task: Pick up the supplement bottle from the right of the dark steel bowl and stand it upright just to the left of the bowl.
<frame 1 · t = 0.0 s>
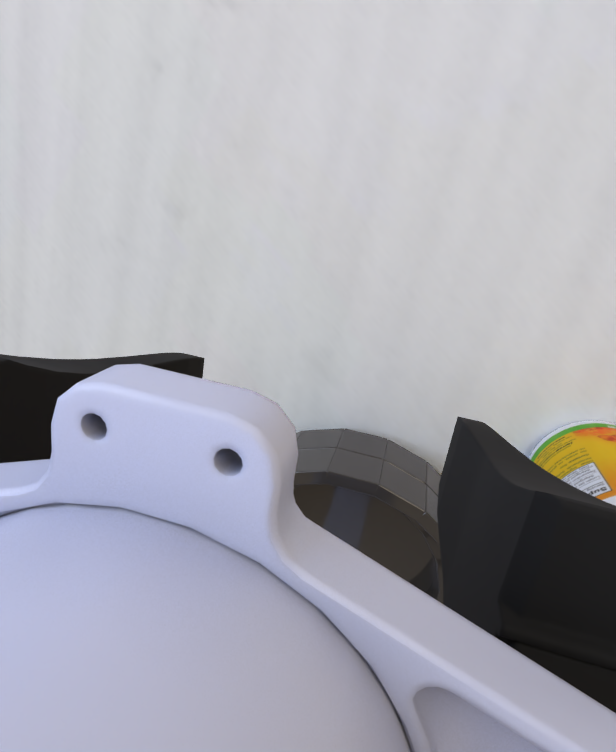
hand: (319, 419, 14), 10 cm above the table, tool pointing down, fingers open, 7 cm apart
bowl: (343, 539, 27), on the table
supplement bottle: (586, 470, 23), on the table
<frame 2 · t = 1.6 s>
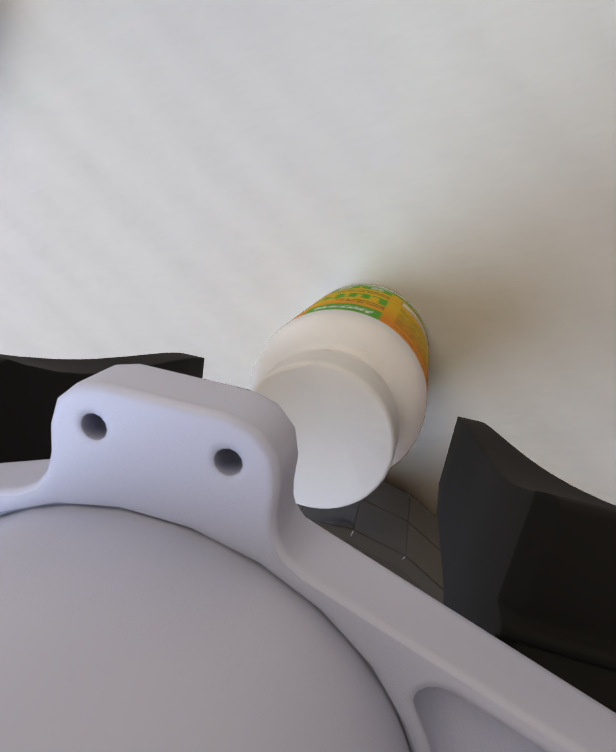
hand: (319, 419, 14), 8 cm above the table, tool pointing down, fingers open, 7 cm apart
bowl: (333, 579, 25), on the table
supplement bottle: (364, 345, 22), on the table
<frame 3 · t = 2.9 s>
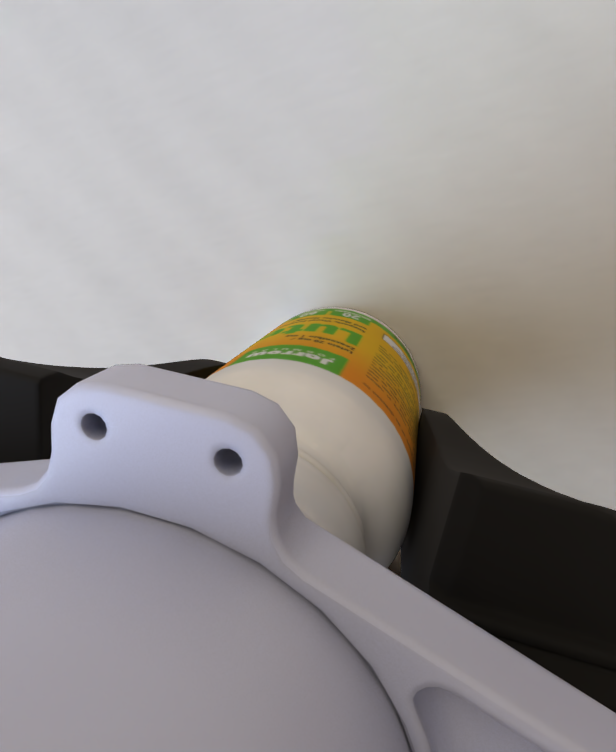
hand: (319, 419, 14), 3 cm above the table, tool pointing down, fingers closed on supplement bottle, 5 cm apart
supplement bottle: (338, 384, 17), on the table, touching gripper
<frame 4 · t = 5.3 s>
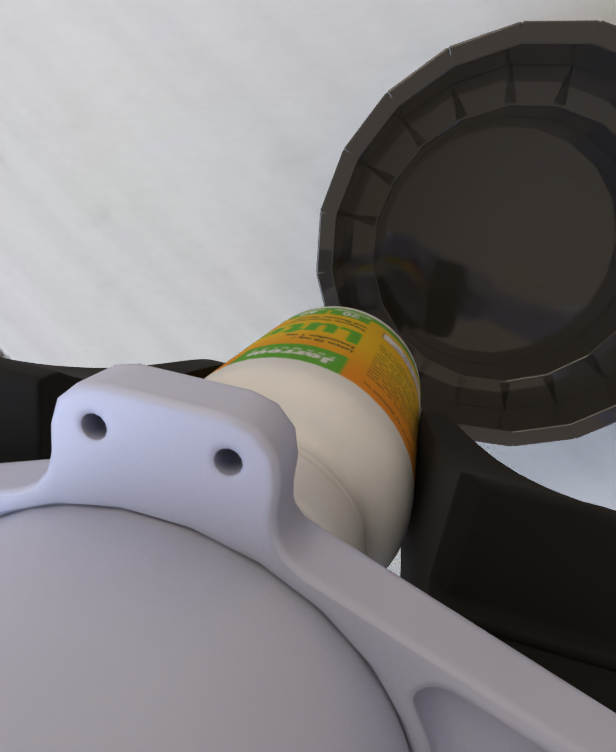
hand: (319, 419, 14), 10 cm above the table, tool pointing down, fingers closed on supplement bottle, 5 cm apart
bowl: (497, 248, 21), on the table
supplement bottle: (338, 383, 17), point 7 cm above the table, touching gripper
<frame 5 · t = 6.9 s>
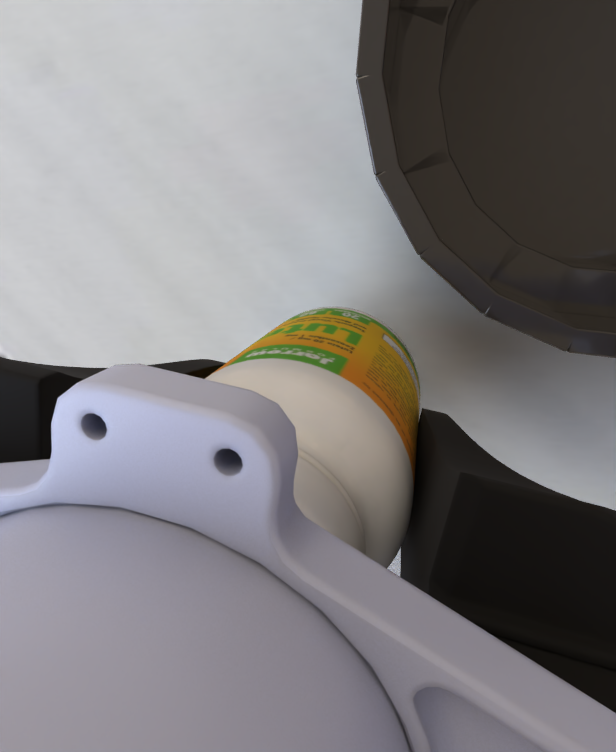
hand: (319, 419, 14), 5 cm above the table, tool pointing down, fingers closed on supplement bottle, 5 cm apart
supplement bottle: (337, 384, 17), point 2 cm above the table, touching gripper
when the fingers open (3 cm above the table, at t = 8.1 s): supplement bottle stays where it is, on the table.
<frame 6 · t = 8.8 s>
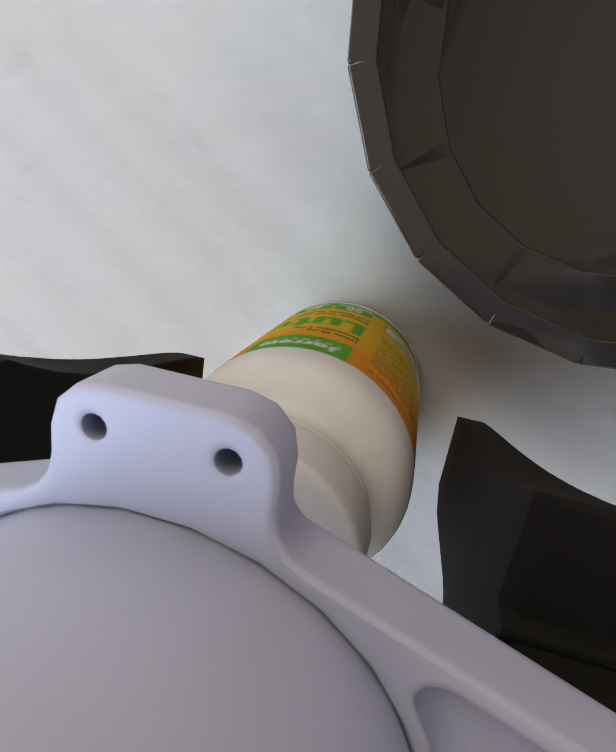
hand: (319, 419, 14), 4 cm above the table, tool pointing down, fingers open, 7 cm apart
supplement bottle: (341, 375, 18), on the table
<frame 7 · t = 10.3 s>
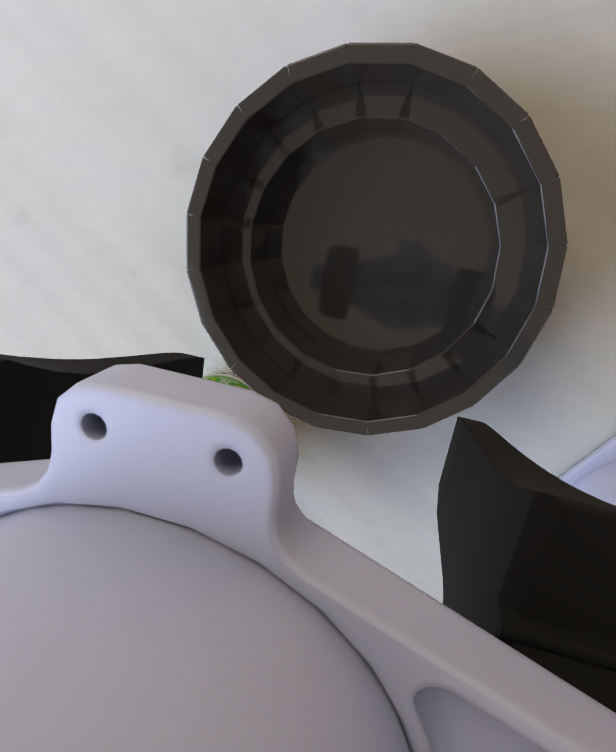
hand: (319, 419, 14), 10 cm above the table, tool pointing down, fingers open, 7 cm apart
bowl: (375, 251, 22), on the table
supplement bottle: (228, 418, 27), on the table
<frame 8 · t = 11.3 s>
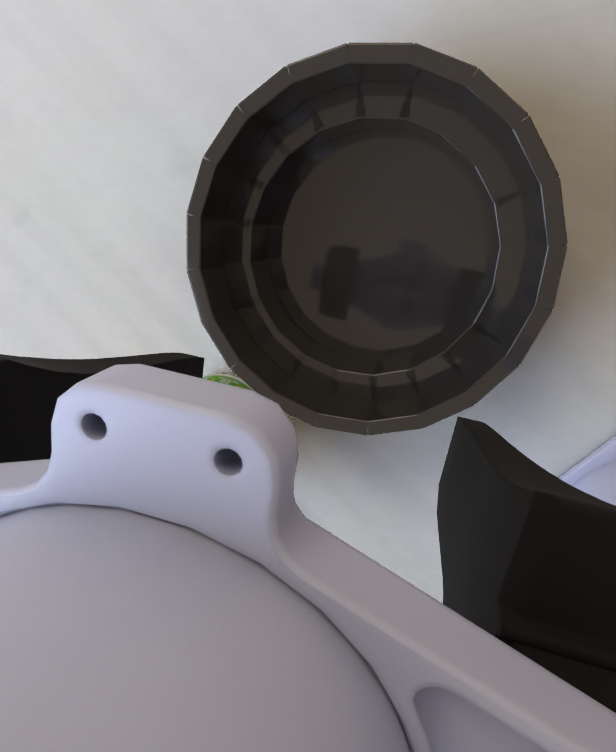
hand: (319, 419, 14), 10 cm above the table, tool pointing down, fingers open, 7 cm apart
bowl: (375, 251, 22), on the table
supplement bottle: (228, 418, 27), on the table
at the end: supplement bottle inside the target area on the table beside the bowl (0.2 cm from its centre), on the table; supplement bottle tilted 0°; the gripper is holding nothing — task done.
